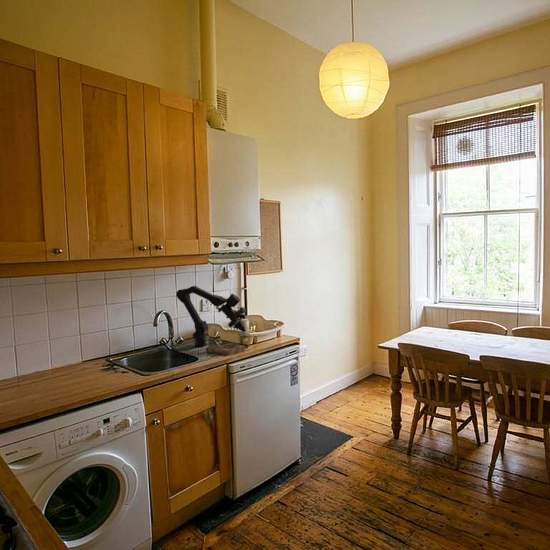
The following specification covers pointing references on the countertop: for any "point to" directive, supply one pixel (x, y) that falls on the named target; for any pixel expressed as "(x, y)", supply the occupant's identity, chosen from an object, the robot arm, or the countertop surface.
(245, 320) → the cream leg
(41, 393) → the countertop surface
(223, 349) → the walnut board
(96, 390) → the countertop surface
